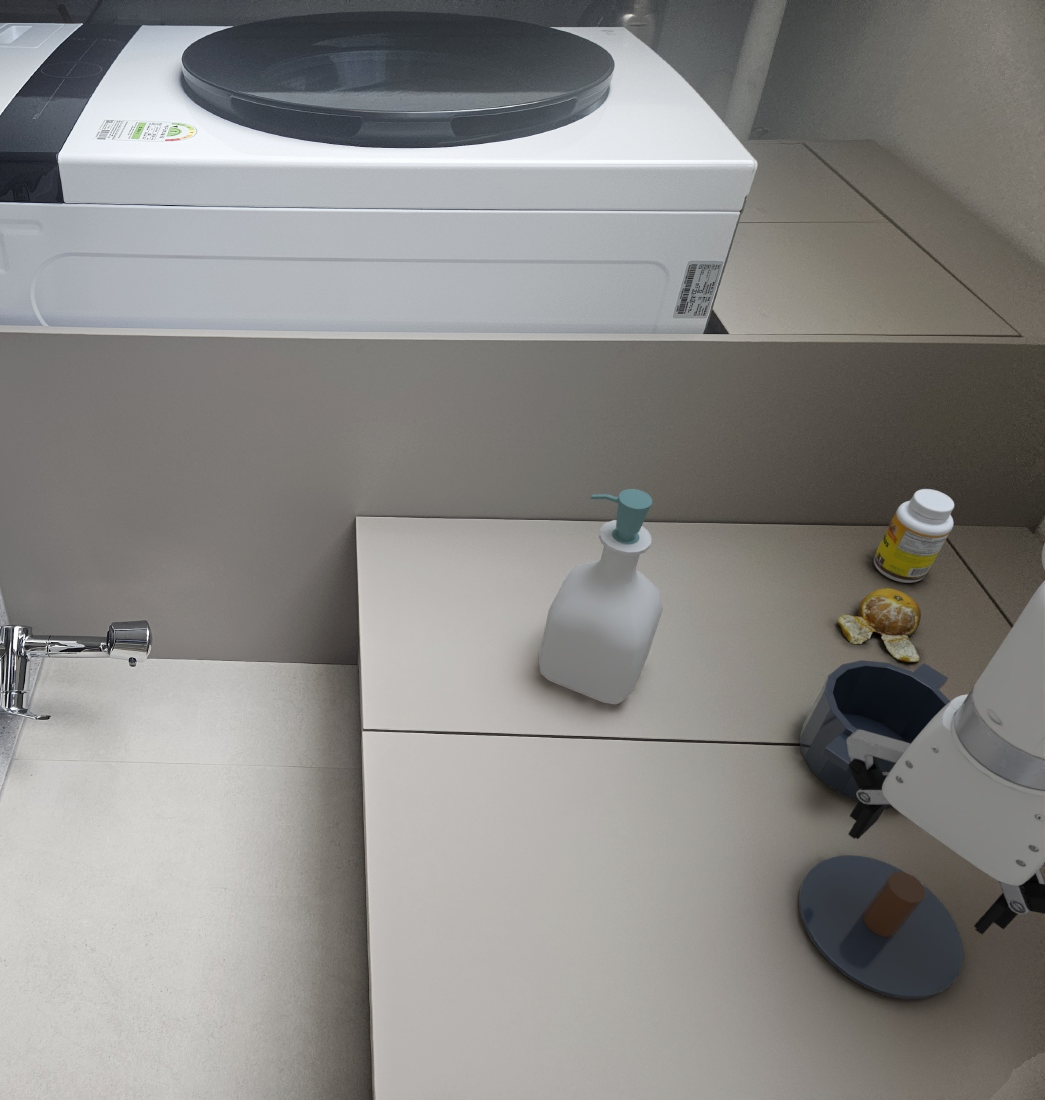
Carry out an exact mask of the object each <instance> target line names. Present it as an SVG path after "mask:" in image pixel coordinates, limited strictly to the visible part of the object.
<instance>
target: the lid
mask: <svg viewBox="0 0 1045 1100" xmlns="http://www.w3.org/2000/svg"><path fill="white" fill-rule="evenodd" d="M798 907H799V908H798V909H799V914H800V918H801V921H802V924H803V926H804V929H805V931H806V933H807V935H808V936H809V938H810V940H811V941H812V943H813V944H814V945H815V947H816V949H817V950H818V951H819V953H820V954H821V955H822V956H823V957H824V958H825V959H826V961H828V963H830V964H831V965H832V966H833V967H834V968H835V969H837V970H838V971H839V972H840V973H841V974H843V975H844V976H846V977H847V978H849V979H850V980H852V981H853V982H855V983H857V984H858V985H860V986H862V987H864V988H866V989H867V990H871V991H872V992H876V993H877V994H881V995H883V996H887V997H891V998H896V999H903V1000H922V999H927V998H932V997H934V996H936V995H939V994H941V993H942V992H944V991H945V990H947V989H948V988H949V987H951V985H952V984H953V983H954V982H955V981H956V979H957V978H958V976H959V975H960V972H961V970H962V967H963V962H964V946H963V941H962V938H961V937H962V936H961V934H960V931H959V929H958V927H957V924H956V922H955V920H954V918H953V917H952V915H951V914H950V912H949V910H948V909H947V908H946V906H945V905H944V904H943V903H942V902H941V900H940V899H939V898H938V897H937V896H936V894H934V893H933V892H932V891H931V890H930V889H929V888H928V887H927V886H925V885H924V884H923V883H922V882H921V881H920V880H919V879H918V878H917V877H915V876H914V875H913V874H911V873H908V872H905V871H904V870H902V869H900V868H899V867H896V866H895V865H892V864H890V863H887V862H884V861H881V860H879V859H876V858H873V857H872V858H871V857H867V856H861V855H850V854H849V855H839V856H833V857H830V858H827V859H824V860H822V861H820V862H819V863H817V864H816V865H814V866H813V867H812V868H811V869H810V870H809V871H808V872H807V874H806V875H805V877H804V879H803V880H802V882H801V884H800V888H799V893H798Z"/></svg>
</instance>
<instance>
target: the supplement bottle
mask: <svg viewBox="0 0 1045 1100" xmlns="http://www.w3.org/2000/svg"><path fill="white" fill-rule="evenodd" d="M954 508H955V502H954V500H953V499H952V498H951V497H950V496H949V495H947V494H945V493H944V492H941V491H939V490H936V489H930V488H922V489H919V490H917V491H915V492H914V494H913V496H912V497H911V499H910V500H907V501H904V502H903V503H901V504H900V505H899V506H898V507H897V509H896V511H895V513H894V514H893V517H892V519H891V521H890V523H889V525H888V527H887V529H886V531H885V533H884V535H883V537H882V539H881V541H880V543H879V546H878V547H877V550H876V551H875V553H874V555H873V565H874V566H875V568H876V569H877V570H878V572H879V573H880V574H882V575H883V576H884V577H886V578H887V579H890V580H892V581H895V582H899V583H906V584H907V583H908V584H912V583H918V582H919V581H922V580H923V579H924V578H925V577H926V576H927V574H928V573H929V571H930V568H931V567H932V565H933V563H934V562H935V560H936V558H937V556H938V555H939V553H940V551H941V550H942V548H943V546H944V544H945V543H946V541H947V539H948V537H949V535H950V533H951V532H952V529H953V528H954V519H953V517H952V515H951V514H952V512H953V511H954Z"/></svg>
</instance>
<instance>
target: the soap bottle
mask: <svg viewBox="0 0 1045 1100" xmlns="http://www.w3.org/2000/svg"><path fill="white" fill-rule="evenodd" d="M590 500H608V501H610V502H613V503H617V512H616V519H612V520H610V521H607V522H605V523H604V524H602V526H601V527H600V530H599V534H598V539H599V541H600V543H601V544H602V546H603V548H602V552H601V556H600V559H596V560H591V561H587V562H586V561H585V562H583V563H581V564H579V565H577V566H574V567H573V568H572V569H571V570H570V572H569V573H568V574H567V576H565V578H564V580H563V581H562V583H561V586H560V588H559V589H558V592H557V593H556V595H555V597H554V599H553V600H552V602H551V604H550V607H549V609H548V611H547V616H546V622H545V626H544V630H543V635H542V641H541V644H540V649H539V653H538V663H539V672H540V674H541V675H542V676H543V677H544V678H546V679H547V680H548V681H549V682H551V683H554V684H556V685H558V686H561V687H563V688H565V689H569V690H571V691H573V692H576V693H578V694H580V695H584V696H586V697H588V698H590V699H594V700H596V701H598V702H600V703H603V704H609V705H618V704H621V703H622V702H623V701H625V700H627V699H628V697H629V696H630V695H631V694H632V693H633V690H634V688H635V686H636V683H637V681H638V679H639V677H640V675H641V672H642V670H643V668H644V666H645V663H646V661H647V660H648V656H649V653H650V651H651V647H652V645H653V641H654V637H655V636H656V635H655V634H656V632H657V628H658V626H659V623H660V620H661V617H662V614H663V610H664V604H663V601H662V595H661V593H660V590H659V588H658V587H657V586H656V585H655V584H654V583H653V582H652V581H651V580H649V578H647V577H646V576H645V575H644V574H643V573H642V572H641V571H640V570H638V569H637V566H638V563H639V559H640V556H641V555H642V554H645V553H646V552H648V550H649V549H650V548H651V545H652V539H653V537H652V536H651V535H652V534H651V533H650V531H649V530H648V529H646V527H644V526H643V525H644V523H645V520H646V518H647V516H648V513H649V511H650V509H651V506H652V504H653V498H652V497H651V495H650V494H648V493H647V492H646V491H643V490H641V489H637V488H626V489H624V490H622V491H621V492H619V494H618V496H615V495H611V494H609V493H600V494H599V493H597V494H596V493H595V494H591V496H590Z"/></svg>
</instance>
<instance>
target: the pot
mask: <svg viewBox="0 0 1045 1100" xmlns="http://www.w3.org/2000/svg"><path fill="white" fill-rule="evenodd" d="M948 680H949V677H948V676H946V675H944V674H942V673H941V672H939V671H938V670H936V669H935V668H933V667H931V666H930V665H928V664H926V663H925V662H923V663H922V664H920V665H919V666H918V667H916V669H914V670H910V669H907V668H903V667H901V666H899V665H895V664H893V663H890V662H884V661H874V660H865V659H863V660H862V659H861V660H857V661H852V662H851V661H850V662H847V663H842V664H840V666H838V667H837V668H836V669H834V670H833V671H832V672H831V673H830V674H828V676H827V677H826V679H825V681H824V683H823V684H822V687H821V689H820V691H819V693H818V695H817V697H816V699H815V701H814V702H813V705H812V706H811V708H810V710H809V712H808V713H807V716H806V717H805V720H804V722H803V726H802V728H801V730H800V733H799V747H800V751H801V754H802V757H803V759H804V761H805V763H806V764H807V766H808V767H809V769H810V770H811V771H812V772H813V773H814V775H815V776H816V777H818V778H819V779H820V780H821V782H823V783H824V784H826V785H827V786H828V787H829V788H830V789H832V790H834V791H835V792H837V793H839V794H841V795H842V796H845V797H846V798H848V799H851V800H853V801H856V802H858V801H859V799H858V798H857V795H856V793H857V791H858V790H859V788H858V786H857V783H856V781H855V779H854V777H853V775H852V773H851V771H850V769H849V763H850V762H851V759H850V757H849V754H848V747H847V738H848V737H849V736H850V735H851V734H852V733H854V732H855V731H856V730H858V729H860V730H864V731H868V732H871V733H875V734H879V735H882V736H886V737H889V738H893V739H896V740H900V741H903V742H907V743H912V742H913V741H914V739H915V738H916V737H917V736H918V735H919V733H920V732H921V731H922V730H923V729H924V728H925V726H926V725H927V724H928V723H929V722H930V721H931V720H932V718H933V717H934V716H935V715H936V714H937V713H938V712H939V711H940V710H941V709H942V708H943V707H944V706H946V705H947V704H948V703H949V702H950V701H951V700H950V699H949V697H947V696H946V695H945V694H944V693H943V692H942V691H941V690H940V689H942V687H944V686H945V684H946V682H947V681H948ZM875 759H876V761H877V763H878V765H879V767H880V769H881V771H882V772H890V771H891V770H892V768H893V767H894V765H895V764H896V763H894V762H890V761H887V760H884V759H880V758H877V757H875ZM887 807H893V806H892V805H887Z"/></svg>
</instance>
